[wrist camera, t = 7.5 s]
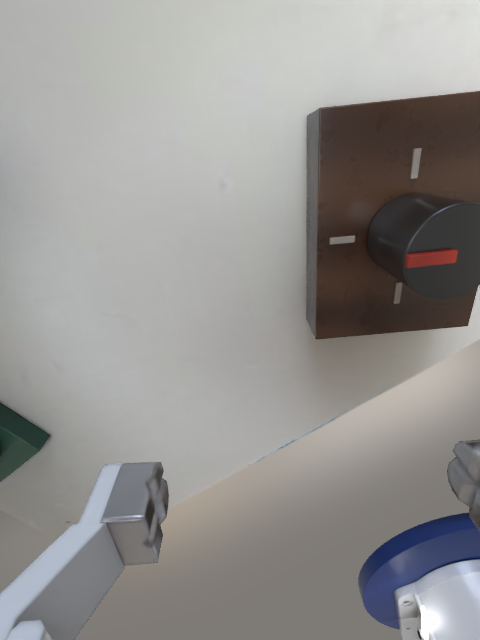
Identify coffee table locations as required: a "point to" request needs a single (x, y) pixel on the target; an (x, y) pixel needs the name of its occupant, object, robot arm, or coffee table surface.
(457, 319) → the panel
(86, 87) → the coffee table surface
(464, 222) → the knob
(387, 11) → the coffee table surface
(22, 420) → the button box
